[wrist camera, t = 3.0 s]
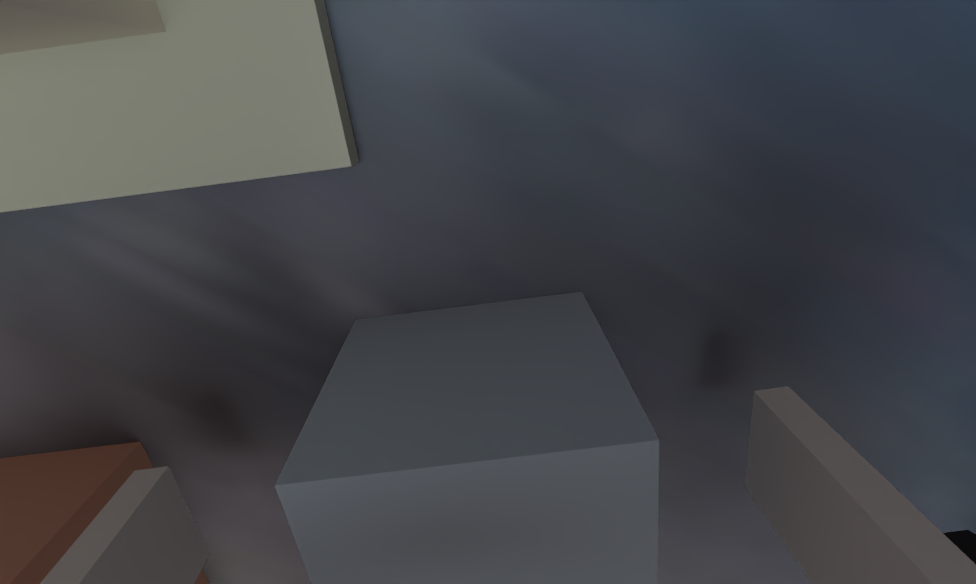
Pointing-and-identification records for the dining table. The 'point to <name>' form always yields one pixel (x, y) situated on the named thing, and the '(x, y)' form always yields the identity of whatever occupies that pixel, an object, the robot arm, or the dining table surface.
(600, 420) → the block
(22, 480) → the block
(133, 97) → the plate
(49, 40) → the block
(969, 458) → the dining table surface
